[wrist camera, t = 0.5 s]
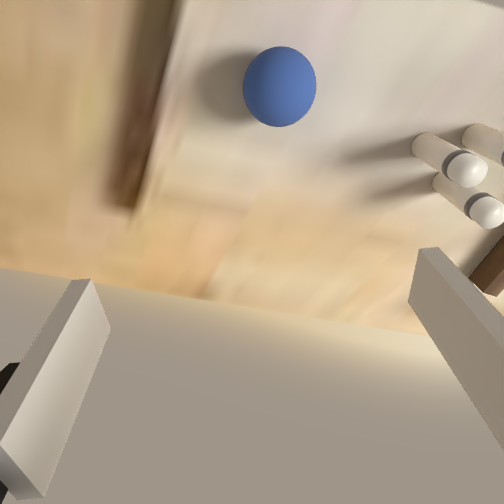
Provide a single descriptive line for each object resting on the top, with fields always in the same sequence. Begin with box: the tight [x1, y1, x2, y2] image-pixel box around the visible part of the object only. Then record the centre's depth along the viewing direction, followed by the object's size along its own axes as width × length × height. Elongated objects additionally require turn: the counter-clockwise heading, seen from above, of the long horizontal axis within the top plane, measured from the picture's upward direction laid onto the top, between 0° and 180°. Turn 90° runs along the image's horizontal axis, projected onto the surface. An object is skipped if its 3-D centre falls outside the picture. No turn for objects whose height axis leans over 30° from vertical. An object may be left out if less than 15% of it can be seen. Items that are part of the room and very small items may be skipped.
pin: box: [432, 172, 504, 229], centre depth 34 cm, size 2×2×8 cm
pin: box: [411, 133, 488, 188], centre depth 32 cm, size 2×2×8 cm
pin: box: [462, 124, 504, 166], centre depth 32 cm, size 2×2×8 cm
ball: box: [243, 47, 316, 127], centre depth 29 cm, size 6×6×6 cm
